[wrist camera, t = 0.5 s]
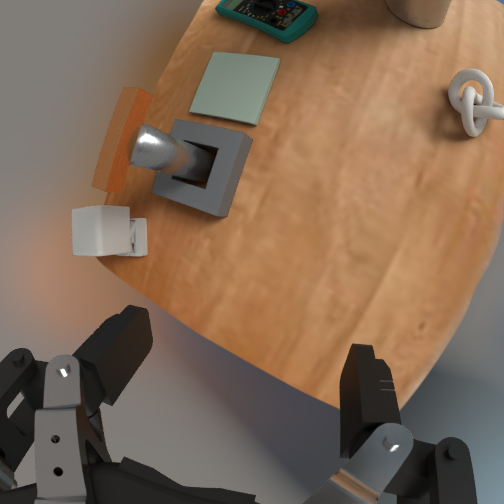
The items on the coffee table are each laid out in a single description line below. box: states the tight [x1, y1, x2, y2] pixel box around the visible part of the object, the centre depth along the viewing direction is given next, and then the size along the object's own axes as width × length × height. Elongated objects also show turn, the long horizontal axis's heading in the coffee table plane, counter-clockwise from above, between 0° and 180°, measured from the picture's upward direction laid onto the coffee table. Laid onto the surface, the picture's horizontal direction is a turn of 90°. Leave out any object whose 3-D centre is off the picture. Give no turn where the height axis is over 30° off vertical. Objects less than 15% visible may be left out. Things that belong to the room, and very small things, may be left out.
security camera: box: [72, 205, 148, 256], centre depth 37 cm, size 6×7×10 cm
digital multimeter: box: [215, 0, 318, 44], centre depth 31 cm, size 7×15×3 cm, turn 49°
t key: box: [92, 88, 216, 193], centre depth 29 cm, size 9×4×17 cm, turn 161°
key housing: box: [151, 119, 253, 217], centre depth 35 cm, size 10×10×3 cm
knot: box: [448, 69, 504, 137], centre depth 23 cm, size 8×8×6 cm
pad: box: [189, 52, 281, 126], centre depth 34 cm, size 10×10×1 cm
